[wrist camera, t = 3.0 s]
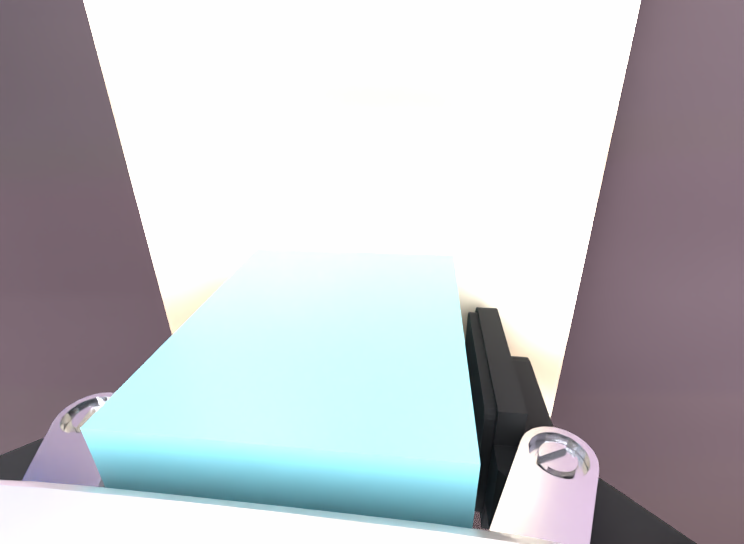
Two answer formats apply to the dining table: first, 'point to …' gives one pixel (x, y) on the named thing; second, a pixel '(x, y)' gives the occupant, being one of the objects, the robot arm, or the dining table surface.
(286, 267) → the pale aqua block
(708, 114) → the dining table surface
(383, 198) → the base board
